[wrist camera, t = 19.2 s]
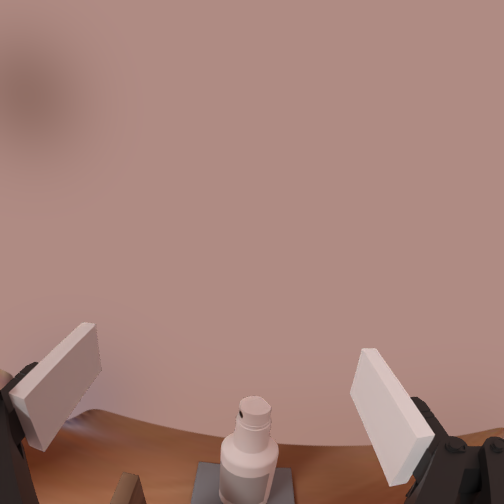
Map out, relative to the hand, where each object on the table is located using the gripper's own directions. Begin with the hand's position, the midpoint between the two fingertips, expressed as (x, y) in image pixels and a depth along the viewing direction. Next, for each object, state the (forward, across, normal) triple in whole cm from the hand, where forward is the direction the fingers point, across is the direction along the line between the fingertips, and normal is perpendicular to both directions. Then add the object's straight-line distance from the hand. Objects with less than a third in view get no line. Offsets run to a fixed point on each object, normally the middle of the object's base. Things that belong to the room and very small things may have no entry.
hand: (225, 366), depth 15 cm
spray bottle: (+14, +3, -32) cm, 35 cm away
